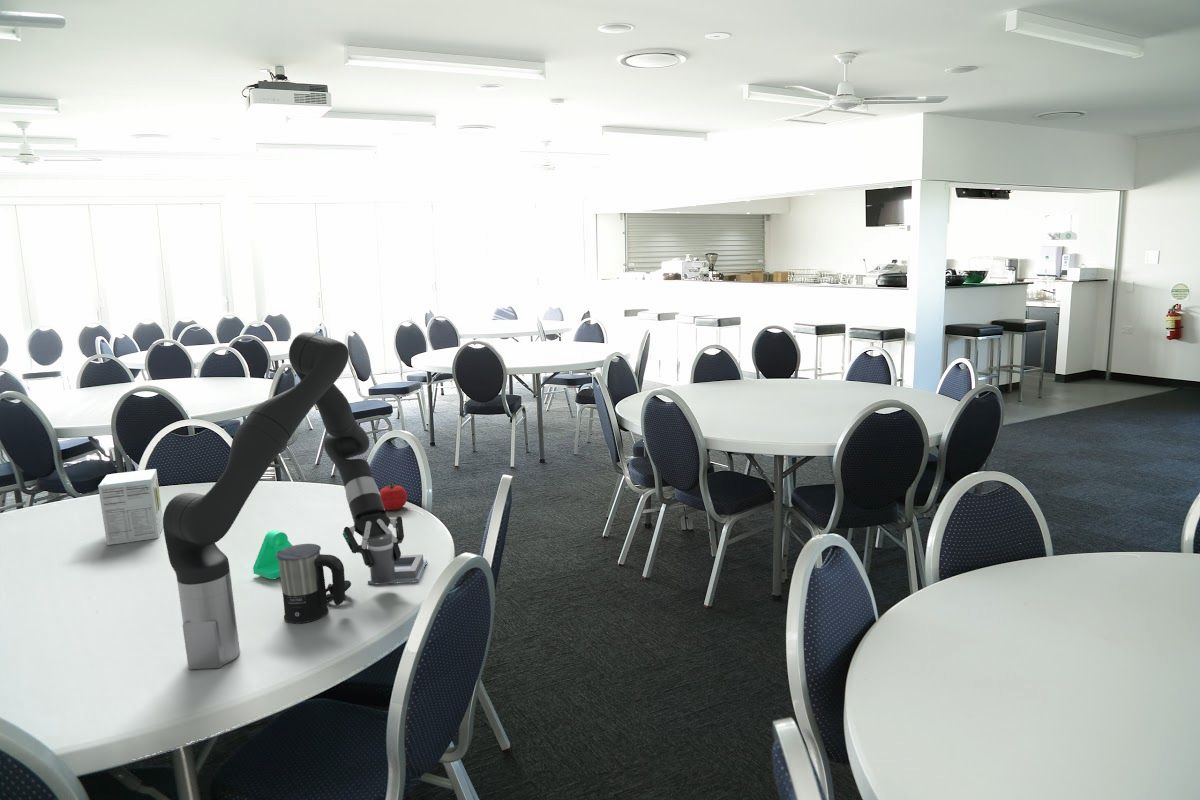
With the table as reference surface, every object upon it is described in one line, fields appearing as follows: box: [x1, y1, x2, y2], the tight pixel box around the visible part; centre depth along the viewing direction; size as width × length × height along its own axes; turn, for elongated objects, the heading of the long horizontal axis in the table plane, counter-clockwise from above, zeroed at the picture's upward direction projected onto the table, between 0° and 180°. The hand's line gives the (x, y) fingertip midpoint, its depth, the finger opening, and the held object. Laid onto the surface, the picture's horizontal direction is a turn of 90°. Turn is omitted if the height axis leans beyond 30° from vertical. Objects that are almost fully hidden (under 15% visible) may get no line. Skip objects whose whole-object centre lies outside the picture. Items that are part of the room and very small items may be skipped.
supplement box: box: [97, 468, 164, 546], centre depth 233 cm, size 13×13×18 cm
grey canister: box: [367, 533, 395, 584], centre depth 187 cm, size 6×6×10 cm
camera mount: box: [252, 529, 293, 580], centre depth 202 cm, size 12×8×10 cm, turn 146°
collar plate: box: [367, 554, 428, 585], centre depth 199 cm, size 12×12×2 cm
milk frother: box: [276, 543, 352, 624], centre depth 180 cm, size 14×16×15 cm
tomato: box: [379, 483, 408, 511], centre depth 249 cm, size 9×9×8 cm
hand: (384, 562), depth 186 cm, fingers closed on grey canister, 5 cm apart
